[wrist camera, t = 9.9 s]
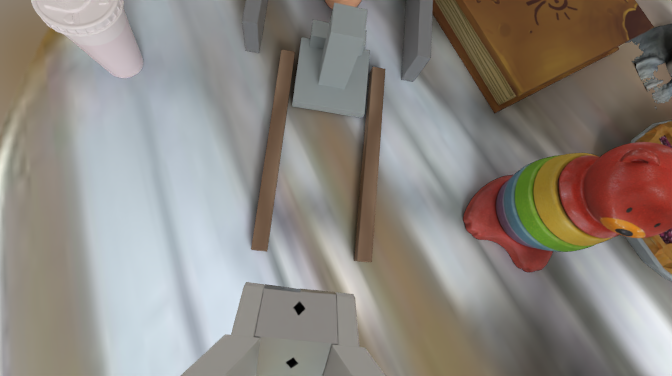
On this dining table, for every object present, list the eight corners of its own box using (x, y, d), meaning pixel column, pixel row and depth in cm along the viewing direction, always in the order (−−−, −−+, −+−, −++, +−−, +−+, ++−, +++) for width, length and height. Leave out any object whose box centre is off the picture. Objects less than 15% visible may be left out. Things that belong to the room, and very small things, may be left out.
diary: (541, -50, 52) (572, -88, 47) (612, 53, 50) (654, 26, 45) (417, -5, 46) (437, -43, 41) (492, 114, 44) (523, 92, 39)
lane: (381, 75, 42) (385, 69, 41) (367, 262, 37) (371, 261, 35) (281, 57, 40) (281, 49, 39) (251, 249, 35) (251, 249, 34)
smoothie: (78, 52, 37) (-35, -74, 23) (136, 26, 38) (62, -105, 25) (111, 100, 36) (15, 1, 23) (168, 71, 38) (111, -37, 24)
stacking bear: (455, 225, 40) (594, 193, 22) (493, 156, 42) (641, 81, 25) (534, 279, 40) (730, 287, 23) (565, 207, 43) (761, 165, 25)
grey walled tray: (417, -8, 46) (434, -40, 41) (413, 81, 43) (430, 57, 38) (262, -43, 43) (261, -82, 38) (245, 50, 40) (242, 20, 35)
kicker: (367, 49, 42) (396, -17, 33) (361, 117, 40) (390, 69, 30) (301, 36, 41) (310, -37, 31) (292, 106, 39) (298, 51, 29)
